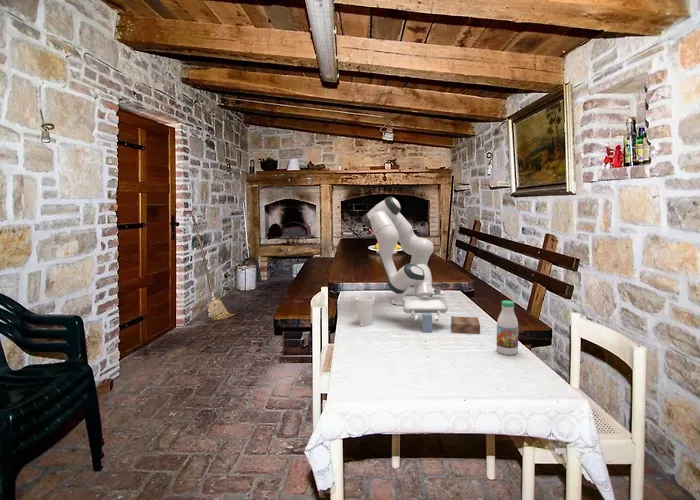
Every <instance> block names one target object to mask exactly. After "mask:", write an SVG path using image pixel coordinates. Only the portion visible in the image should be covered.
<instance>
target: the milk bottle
mask: <svg viewBox="0 0 700 500" xmlns="http://www.w3.org/2000/svg"><path fill="white" fill-rule="evenodd" d="M496 322H497V323H496V351H497V352H498V353H499V354H501V355H505V356H507V355H508V356H512V355H513V356H514V355H517V354H518V352H519V322H518V318H517V316H516V314H515V302H514V301H513V300H501V310H500V314H499V315H498V318H497V321H496Z"/></svg>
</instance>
